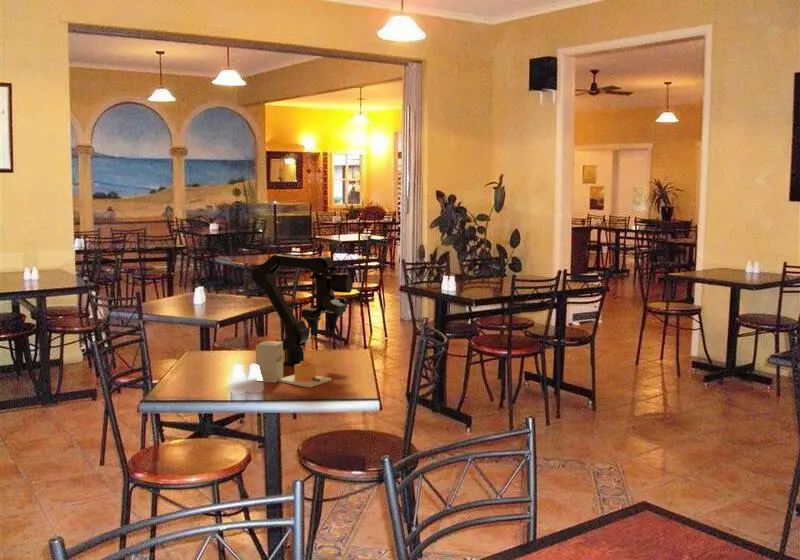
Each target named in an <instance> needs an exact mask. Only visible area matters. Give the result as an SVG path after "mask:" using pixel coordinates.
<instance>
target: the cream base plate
mask: <svg viewBox="0 0 800 560" xmlns="http://www.w3.org/2000/svg"><path fill="white" fill-rule="evenodd" d="M328 381H329V382H331V381H332V378H331V377H326V376H325V377H324V376H321V375H316V378H312V380H309V381H301V380H296V379H295V378H294V374H291V375H288V376H285V377H284V376H283V378H281V379H278V381H277V382H279V383H284V384H289V385H294V386H300V387H306V388H313V386H314V387H317V386H319V384H320V385H322V383H323V384H325V382H326V383H329V382H328ZM316 385H317V386H316Z"/></svg>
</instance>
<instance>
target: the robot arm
mask: <svg viewBox="0 0 800 560" xmlns="http://www.w3.org/2000/svg"><path fill="white" fill-rule="evenodd" d="M281 267H290V268H299V269H305V270H308V271H309V272H312V273H313V274H312V275H311V276H309V279H310V280H314V282H315V293H313V295H312V297H313V298H315V304H314V305H313V307H312V308H311V307H308V308H303V309H302V310H301V311H300V316H301V318H303V319H304V320H305V321H306V322H307V325H308V326H309V327H308V326H307V325H306V322H305V321H304V320H303V319H302V320H298V319H297V318H296V317H295V314H294V313H293V312H292V309H291V308H290V307H289V305H288V303H287V301H286V299H285V298H284V295H283V294H282V292H281V291H280V289H279V287H278V286H277V278H276V275H275V274H276V272H277V271H278V270H279V269H280V268H281ZM250 277H251V279H252V281H253V282H254V284H256V286H257V287H258V288H259V289H261V290H262V291H264V292H265V294H266V296H267V298H268V299H269V301H270V302H271V304H272V306H273V309H274V310H275V311H276V313H277V315H278V317H279V318H280V320H281V322H282V323H283V326H284V327H283V328H284V334H285V336H286V338H285V339H283V341H282V342H283V350H284V361H283V365H285V366H286V365H287V366H291V367H294V365H296V364H300V361H304V360H305V358H304V355H305V354H304V348H303V346H305V345H306V341H308V339H309V336H310V331H309V330H311V332H312V335H313V336H314V337H318V334H319V322H320V321H321V319H322V317H321V314H326V317H327V323H328V328H329V331H330V332H331V333H334V332H335V328H336V326H337V325H336V324H337V322H338V319H339V318H340V317H341V316H342V315H344V313H346V310H347V308H348V301H347V299H346V298H344V297H343V298H340V299H336V298H335V297H336V295H335V294H334V293H344V294H345V293H348V294H350V293H351V292H352V290H353V284H354V283H353V279H352V277H351V274H350V273H347V272H346V273H340V272H339V270H338V269H337V267H336V266H335V264H334V260H333V259H332V258H331V256H328V255H322V256H313V257H306V256H295V255H285V254H281V253H278V254H277V253H276V254H272V255H271V257H269V259H267V260H266V261H265V262H262V264H261V265H260V266H258V267H255V268H254V269H253V270H252V271H251V275H250ZM332 292H334V293H332Z"/></svg>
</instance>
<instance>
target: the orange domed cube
mask: <svg viewBox="0 0 800 560" xmlns="http://www.w3.org/2000/svg"><path fill="white" fill-rule="evenodd" d="M293 367H294V374H293V375H294V378H295V379H296V380H301V381H309V380H312V378H316V376H317V375H316V363H310V360H305V359H304V361H300V364H296V365H294V366H293Z"/></svg>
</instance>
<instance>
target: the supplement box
mask: <svg viewBox="0 0 800 560" xmlns="http://www.w3.org/2000/svg"><path fill="white" fill-rule="evenodd" d="M283 362H284V349H283V341H269V340H267V341H265V340H263V341H261V342H259V343H258V344H256V345H255V365H256V364H258V365H259V366H260V370H261V374H262V377H263V380H264V382H263V383H277V382H278V379H281V378H284V364H283Z"/></svg>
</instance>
